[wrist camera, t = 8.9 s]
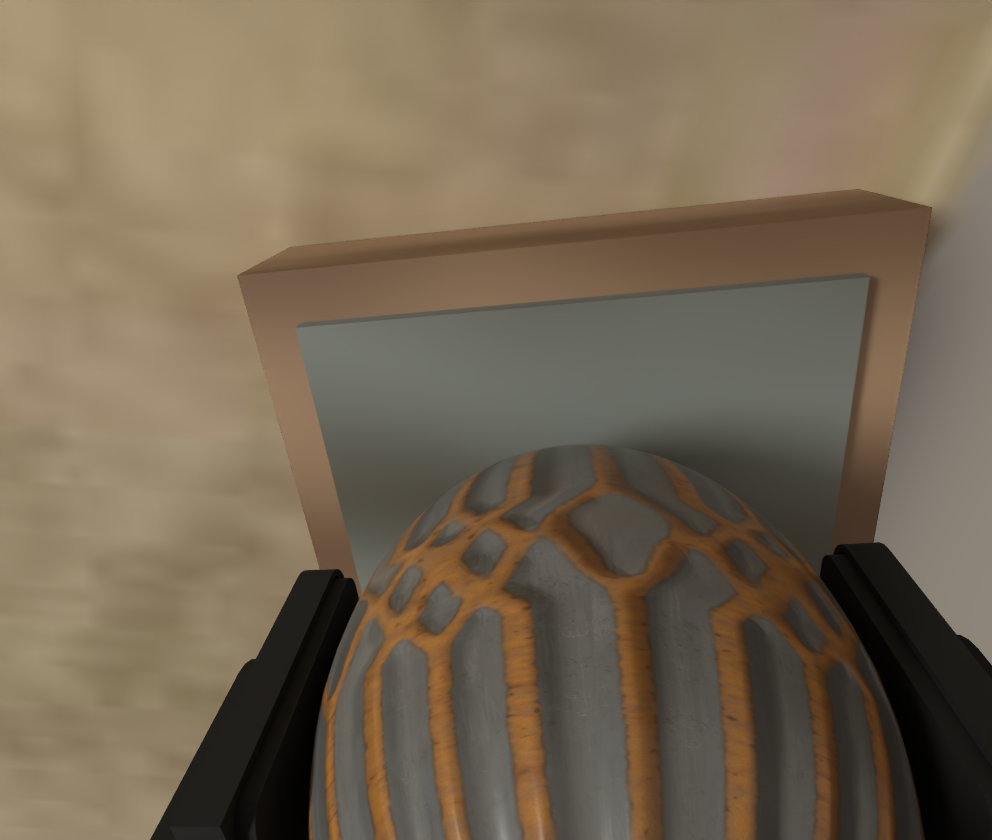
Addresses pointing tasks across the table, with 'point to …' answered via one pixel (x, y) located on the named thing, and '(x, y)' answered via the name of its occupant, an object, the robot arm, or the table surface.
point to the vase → (603, 673)
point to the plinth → (597, 358)
